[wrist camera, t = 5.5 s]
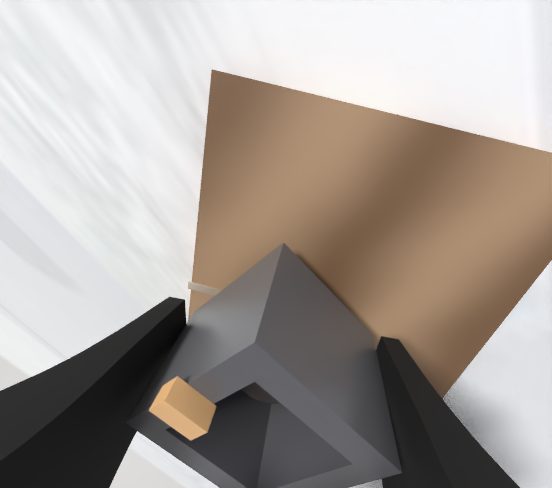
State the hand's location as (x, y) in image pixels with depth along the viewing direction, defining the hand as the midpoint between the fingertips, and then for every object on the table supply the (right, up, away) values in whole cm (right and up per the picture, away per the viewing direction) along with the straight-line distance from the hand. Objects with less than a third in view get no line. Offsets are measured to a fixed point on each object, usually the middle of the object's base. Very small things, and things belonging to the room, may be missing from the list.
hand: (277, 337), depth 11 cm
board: (+3, +2, +1) cm, 4 cm away
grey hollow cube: (0, 0, +1) cm, 1 cm away
